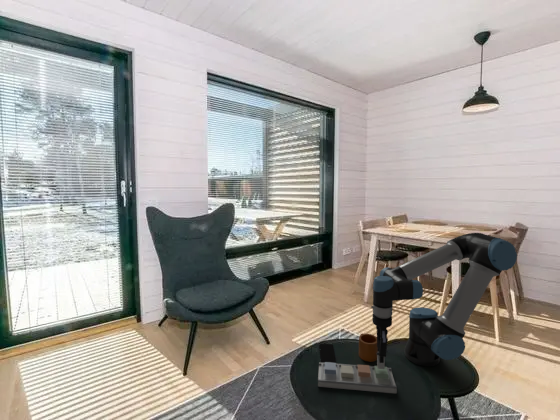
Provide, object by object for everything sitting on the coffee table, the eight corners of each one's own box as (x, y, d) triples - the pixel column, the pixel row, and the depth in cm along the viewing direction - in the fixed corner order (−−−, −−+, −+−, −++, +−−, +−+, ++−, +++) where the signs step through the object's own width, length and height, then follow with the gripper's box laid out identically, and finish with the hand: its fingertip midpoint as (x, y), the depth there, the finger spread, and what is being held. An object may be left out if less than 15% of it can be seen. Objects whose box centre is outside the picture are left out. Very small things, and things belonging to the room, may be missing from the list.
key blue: (335, 367, 133) (335, 362, 132) (336, 374, 128) (336, 370, 128) (324, 366, 134) (324, 361, 133) (324, 373, 129) (324, 369, 129)
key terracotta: (369, 369, 130) (369, 365, 130) (370, 377, 126) (370, 372, 125) (357, 368, 131) (357, 364, 131) (358, 376, 127) (358, 371, 126)
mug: (371, 346, 153) (372, 329, 152) (380, 361, 141) (381, 343, 140) (354, 346, 153) (354, 330, 151) (361, 362, 141) (362, 344, 140)
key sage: (386, 370, 129) (386, 366, 129) (388, 378, 125) (388, 374, 124) (374, 370, 130) (374, 365, 130) (376, 377, 125) (376, 373, 125)
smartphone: (320, 362, 141) (318, 343, 156) (320, 364, 141) (318, 345, 156) (336, 363, 140) (333, 343, 155) (336, 364, 141) (333, 345, 155)
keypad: (390, 373, 133) (390, 367, 132) (396, 393, 121) (396, 387, 121) (319, 367, 138) (319, 361, 138) (318, 386, 126) (317, 380, 126)
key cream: (352, 370, 132) (352, 366, 131) (353, 377, 127) (353, 373, 127) (341, 369, 133) (341, 365, 132) (341, 376, 128) (341, 372, 128)
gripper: (370, 306, 130) (369, 357, 134) (374, 322, 118) (373, 377, 121) (388, 307, 129) (387, 358, 133) (395, 323, 117) (393, 379, 120)
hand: (380, 367), depth 127 cm, fingers closed
